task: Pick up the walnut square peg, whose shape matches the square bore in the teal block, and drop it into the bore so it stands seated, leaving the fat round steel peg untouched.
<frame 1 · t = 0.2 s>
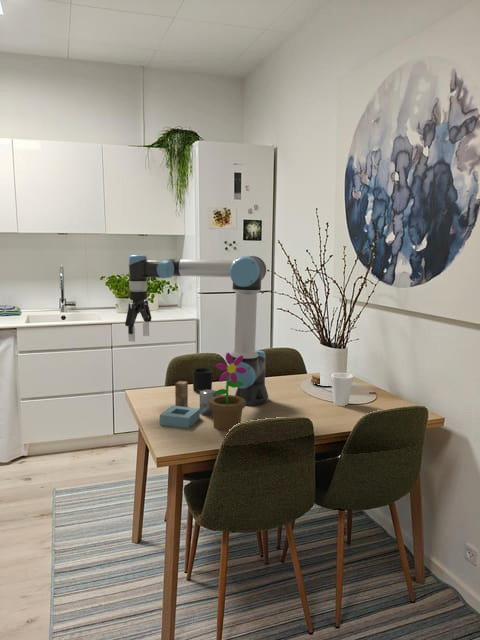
hand: (139, 338, 225), 28 cm above the table, tool pointing down, fingers open, 13 cm apart
bore block: (180, 421, 201), on the table
square peg: (181, 407, 218), on the table
flowerpot: (226, 426, 197), on the table
toy sandwich meal: (324, 385, 258), on the table
round peg: (207, 412, 212), on the table
foam cup: (340, 404, 226), on the table
pen holder: (202, 391, 243), on the table
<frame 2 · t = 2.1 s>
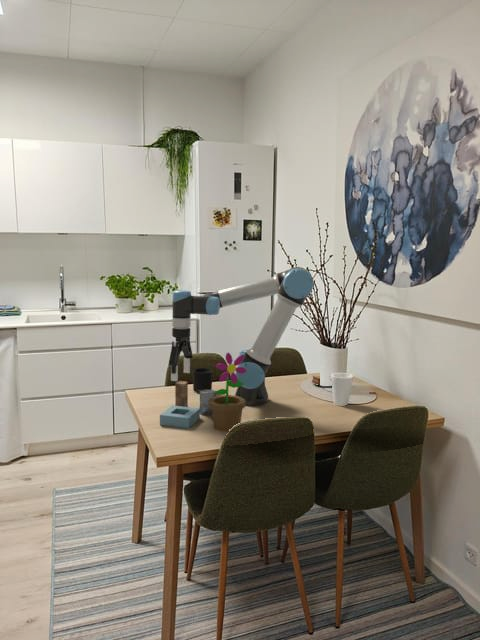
hand: (180, 376, 216), 13 cm above the table, tool pointing down, fingers open, 13 cm apart
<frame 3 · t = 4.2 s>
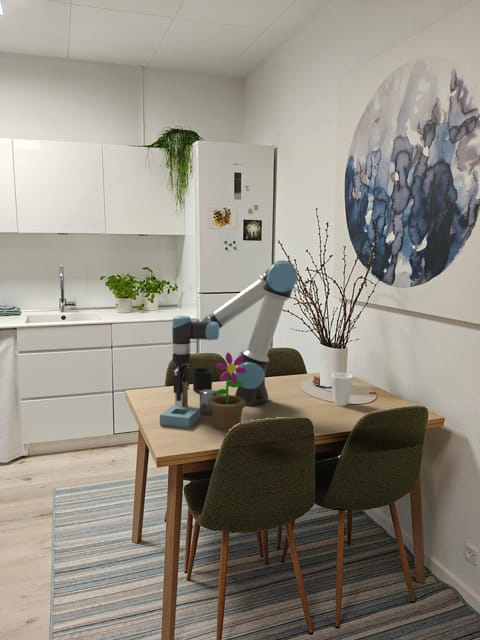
hand: (181, 405, 218), 1 cm above the table, tool pointing down, fingers closed on square peg, 4 cm apart
square peg: (181, 407, 218), on the table, touching gripper
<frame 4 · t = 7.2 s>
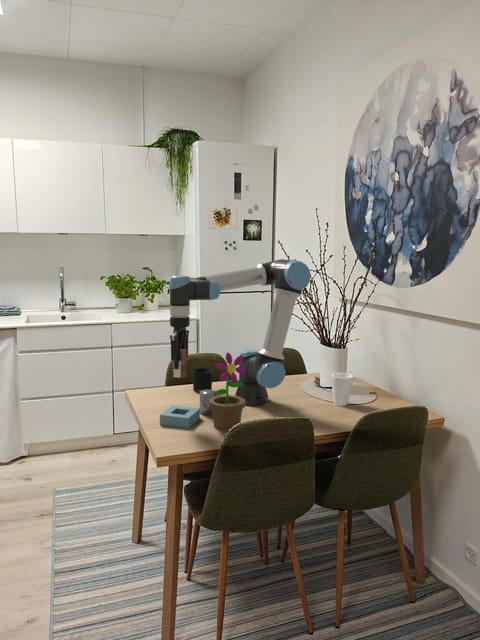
hand: (179, 375, 199), 19 cm above the table, tool pointing down, fingers closed on square peg, 4 cm apart
square peg: (179, 376, 199), point 18 cm above the table, touching gripper
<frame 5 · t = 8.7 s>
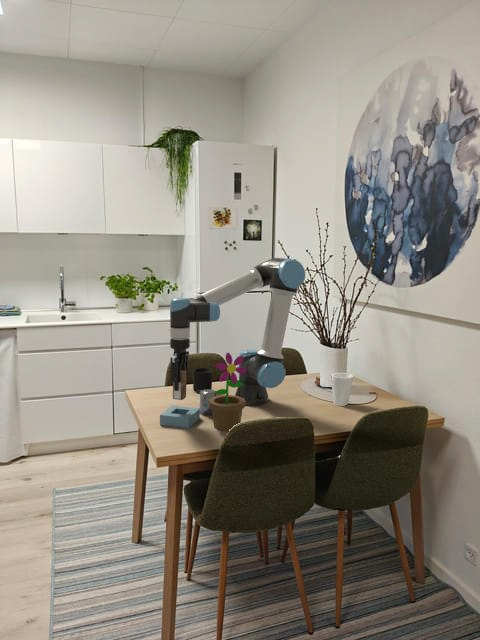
hand: (179, 396, 200), 10 cm above the table, tool pointing down, fingers closed on square peg, 4 cm apart
square peg: (179, 398, 200), point 10 cm above the table, touching gripper
when the fingers open (7 cm above the table, at t = 10.0 s): square peg drops 5 cm, resting on bore block.
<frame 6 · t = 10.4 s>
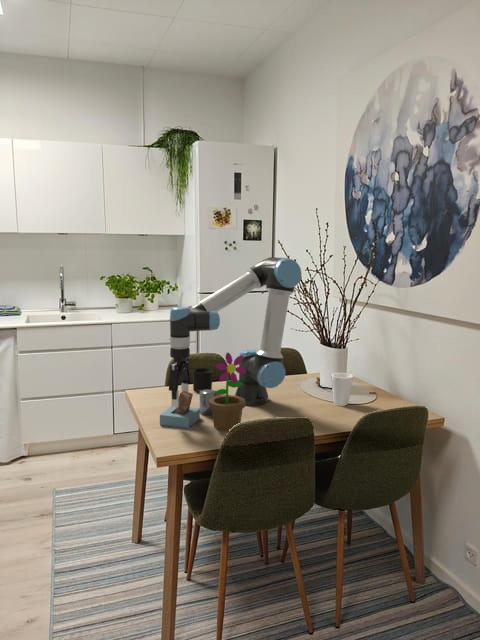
hand: (180, 403, 200), 8 cm above the table, tool pointing down, fingers open, 9 cm apart
square peg: (180, 419, 201), point 1 cm above the table, tilted 14°, touching bore block
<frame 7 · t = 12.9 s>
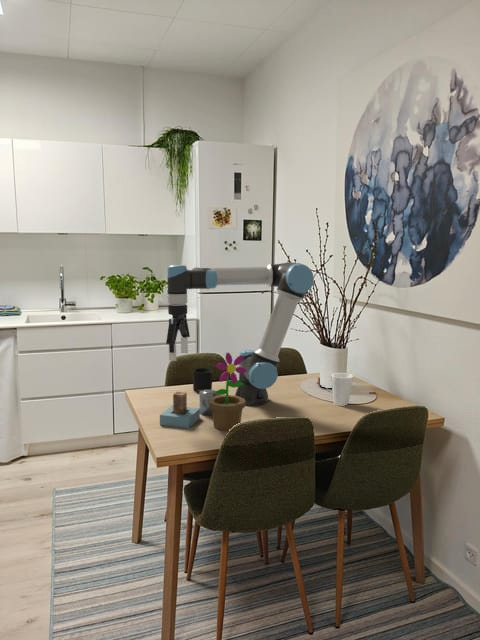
hand: (178, 356, 205), 24 cm above the table, tool pointing down, fingers open, 13 cm apart
square peg: (180, 420, 201), resting on bore block
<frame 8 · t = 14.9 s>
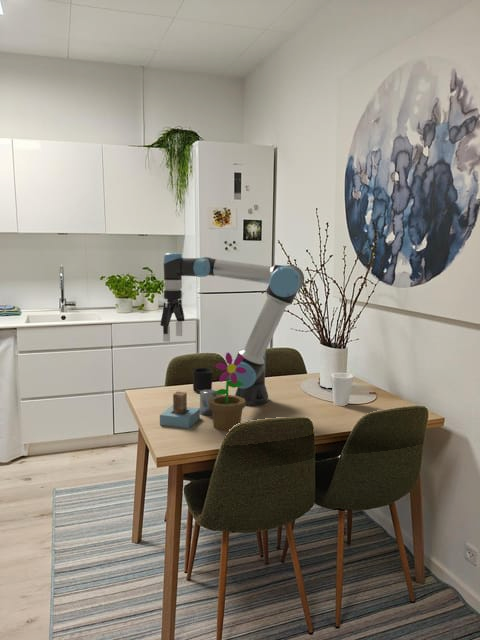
hand: (173, 338, 220), 29 cm above the table, tool pointing down, fingers open, 13 cm apart
at the end: square peg 0.1 cm off-centre on the bore block, point 0.4 cm above the bore block's base; square peg tilted 0°; the gripper is holding nothing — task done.
